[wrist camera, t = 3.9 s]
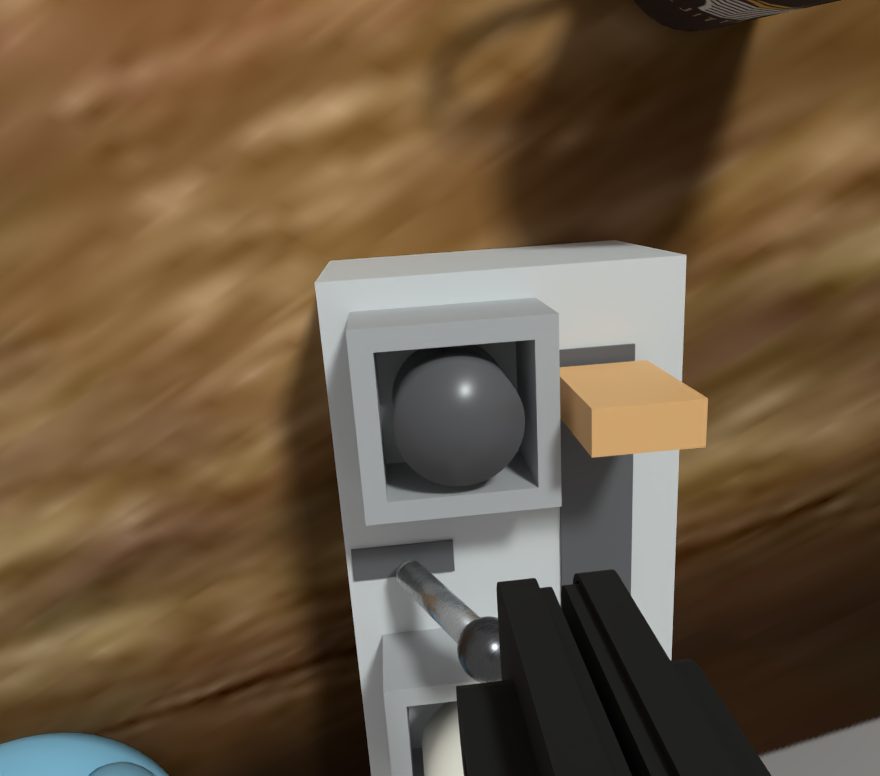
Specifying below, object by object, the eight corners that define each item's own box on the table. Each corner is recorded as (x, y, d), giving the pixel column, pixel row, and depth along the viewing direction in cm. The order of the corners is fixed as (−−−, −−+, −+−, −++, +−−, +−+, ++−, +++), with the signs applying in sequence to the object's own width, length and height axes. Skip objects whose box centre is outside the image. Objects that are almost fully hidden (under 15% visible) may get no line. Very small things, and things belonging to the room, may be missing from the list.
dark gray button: (504, 334, 22) (523, 356, 19) (508, 444, 23) (526, 480, 20) (387, 344, 22) (388, 367, 19) (397, 454, 23) (399, 492, 20)
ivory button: (527, 687, 24) (548, 756, 21) (530, 775, 25) (550, 852, 22) (418, 700, 23) (423, 771, 20) (425, 788, 24) (432, 868, 22)
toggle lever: (424, 537, 24) (533, 627, 19) (428, 582, 24) (534, 681, 19) (378, 553, 23) (478, 651, 18) (383, 599, 24) (481, 708, 18)
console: (615, 240, 29) (732, 264, 19) (611, 643, 35) (700, 816, 25) (329, 260, 28) (304, 297, 19) (374, 669, 34) (372, 859, 24)
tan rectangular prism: (647, 359, 23) (708, 398, 18) (645, 400, 23) (705, 447, 19) (552, 368, 22) (591, 408, 18) (552, 408, 23) (591, 457, 19)
